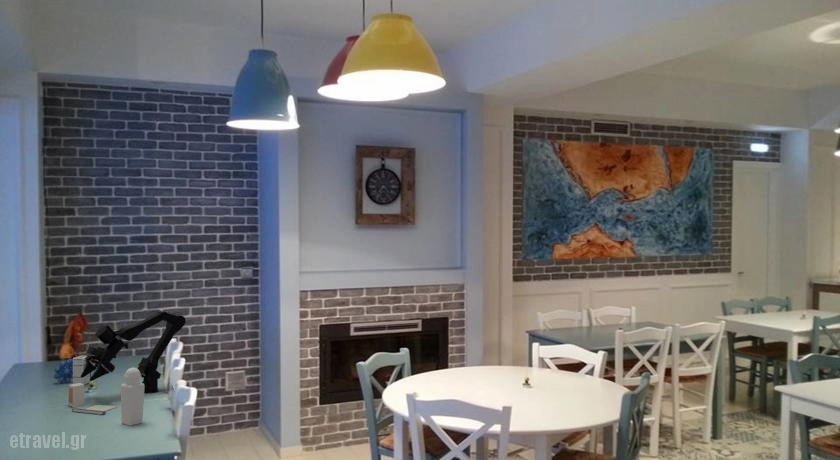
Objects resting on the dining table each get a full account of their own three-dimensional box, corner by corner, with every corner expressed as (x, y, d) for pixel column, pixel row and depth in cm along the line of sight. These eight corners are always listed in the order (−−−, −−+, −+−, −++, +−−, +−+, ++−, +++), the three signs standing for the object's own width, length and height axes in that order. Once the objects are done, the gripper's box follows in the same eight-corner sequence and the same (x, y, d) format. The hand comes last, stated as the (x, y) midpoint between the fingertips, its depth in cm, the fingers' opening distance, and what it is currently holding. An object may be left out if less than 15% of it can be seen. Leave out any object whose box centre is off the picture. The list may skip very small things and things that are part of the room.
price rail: (105, 414, 270) (105, 411, 270) (103, 415, 268) (103, 412, 268) (74, 410, 274) (74, 408, 274) (71, 411, 273) (71, 408, 273)
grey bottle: (129, 426, 254) (130, 370, 254) (119, 423, 257) (120, 368, 257) (144, 422, 259) (145, 367, 259) (134, 419, 262) (135, 365, 262)
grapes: (80, 380, 329) (80, 356, 329) (80, 383, 323) (80, 358, 323) (54, 382, 324) (54, 358, 324) (53, 385, 318) (53, 360, 318)
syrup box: (83, 387, 313) (83, 357, 313) (72, 387, 314) (72, 357, 314) (91, 385, 319) (91, 355, 319) (80, 384, 320) (81, 355, 320)
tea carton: (79, 403, 286) (79, 382, 286) (84, 405, 283) (84, 384, 283) (68, 405, 282) (68, 384, 282) (72, 407, 279) (72, 386, 279)
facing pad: (116, 407, 280) (116, 406, 280) (99, 413, 270) (99, 412, 270) (97, 405, 283) (97, 404, 283) (79, 411, 273) (79, 410, 273)
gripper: (89, 337, 296) (63, 364, 287) (108, 341, 284) (81, 371, 275) (107, 352, 302) (81, 379, 293) (125, 357, 290) (100, 386, 281)
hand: (85, 378), depth 286 cm, fingers open, 9 cm apart
